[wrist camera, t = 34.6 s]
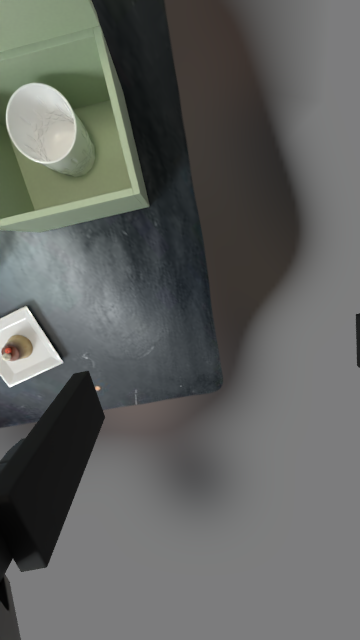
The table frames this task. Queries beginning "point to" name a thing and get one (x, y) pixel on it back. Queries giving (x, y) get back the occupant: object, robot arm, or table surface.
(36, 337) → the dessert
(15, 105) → the white cup
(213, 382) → the table surface
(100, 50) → the chest
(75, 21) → the chest lid
